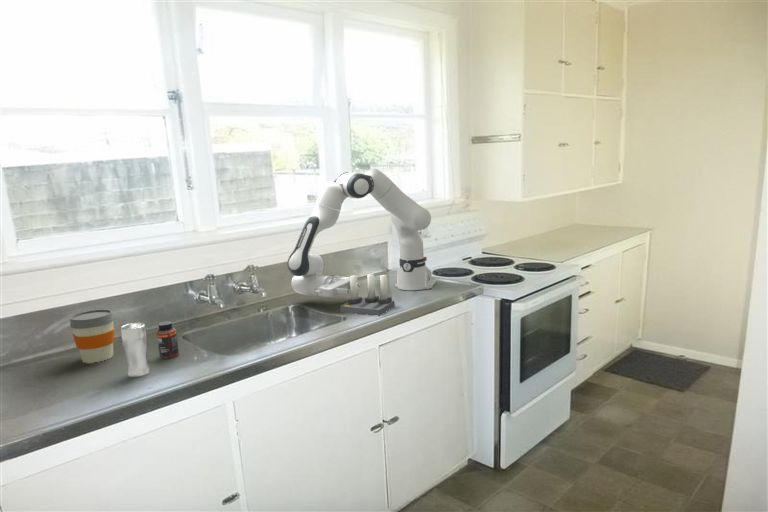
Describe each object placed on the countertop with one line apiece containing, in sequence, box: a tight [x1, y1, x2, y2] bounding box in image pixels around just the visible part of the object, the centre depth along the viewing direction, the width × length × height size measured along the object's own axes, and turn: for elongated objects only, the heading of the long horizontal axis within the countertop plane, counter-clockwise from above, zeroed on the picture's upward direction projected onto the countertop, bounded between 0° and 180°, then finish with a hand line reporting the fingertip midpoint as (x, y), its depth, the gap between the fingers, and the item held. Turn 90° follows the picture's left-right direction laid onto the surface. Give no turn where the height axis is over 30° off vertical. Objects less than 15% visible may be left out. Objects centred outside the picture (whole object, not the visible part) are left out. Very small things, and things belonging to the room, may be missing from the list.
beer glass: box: [120, 322, 151, 378], centre depth 156 cm, size 7×7×15 cm
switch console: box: [339, 273, 396, 317], centre depth 214 cm, size 14×18×14 cm
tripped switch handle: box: [347, 275, 363, 304], centre depth 217 cm, size 5×4×11 cm
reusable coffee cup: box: [69, 308, 115, 364], centre depth 171 cm, size 13×13×15 cm
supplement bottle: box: [156, 320, 180, 360], centre depth 170 cm, size 6×6×11 cm
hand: (353, 288), depth 217 cm, fingers open, 8 cm apart
